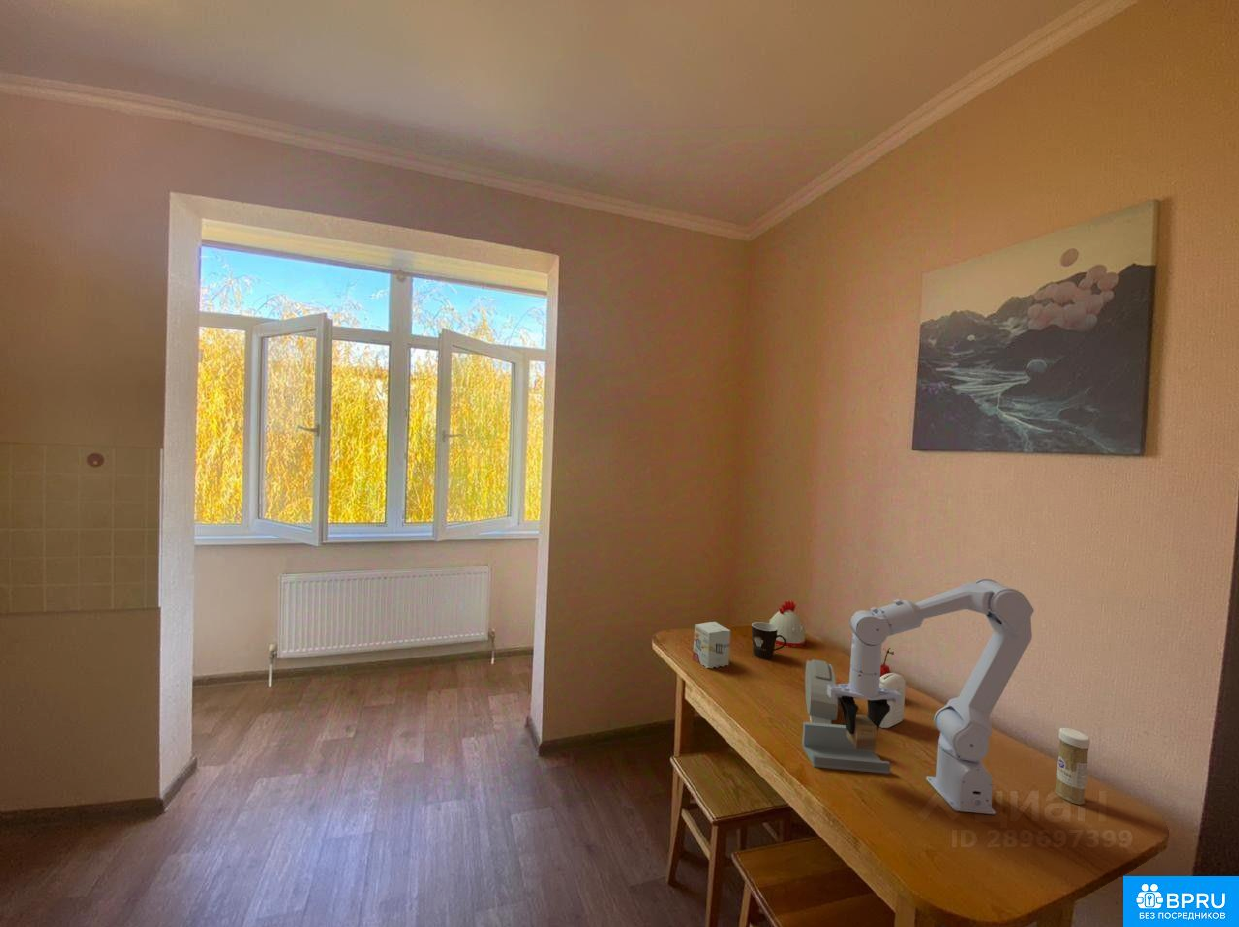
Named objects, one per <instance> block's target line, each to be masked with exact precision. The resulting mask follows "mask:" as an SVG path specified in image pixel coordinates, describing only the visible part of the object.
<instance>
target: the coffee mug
mask: <svg viewBox="0 0 1239 927" xmlns="http://www.w3.org/2000/svg"><path fill="white" fill-rule="evenodd" d="M751 631H752V650H753V653H752V654H753V656H755V657H756V658H758V659H762V660H771V659H773V658H774V653H775V651H779V650H781V649H783V648H785V647H784V646H785V645H786V639H785V638H784V637H783V636H782V635H777V631H778V628H777V627H776V626H775V625H772V624H769V622H762V621H759V622H758V621H757V622H753V623H752V624H751ZM777 637H782V638H783V639H784V642H785V643H784V645H783V646H779V647H777V648H775V646H776V644H775V642H776V639H777Z"/></svg>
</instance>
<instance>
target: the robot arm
mask: <svg viewBox="0 0 1239 927" xmlns="http://www.w3.org/2000/svg"><path fill="white" fill-rule="evenodd" d="M892 602H893V603H890V604H888V605H887V604H886V605H884V606H881V607H876V606H873V607H870V611H869V610H865V609H862V610H861V609H860V610H857V611H855V612H854V614H853V615H852V616H851V617H850V619H849V620H848V625H849V627H850V629H851V630H852V637H851V645H850V660H849V676H848V679H849V680H848V683H841V684H836V685H827V694H828V695H829V697H830V698H835V697H838V703H839V704H840V707H841V710H842V713H843V716H844V721H845V722H844V723H845V725H846V729H847V731H848V732H849V733H850V734H854V730H855V717H856V714H857V713H858V709H859V706H858V705H857V704H856V702H855V700H856V699H857V700H859V699H860V700H866V701H867V710H868V711H867V714H868V718H869V719H870V720H871V721H872V722H873V723H874V724H875V725H876V726H877V731H878V730H879V728H880V727H879V725H880V723H881V721H882V720H883V718H884V717H885V716H886V714H887V713H888V712H889V711H890V706H889V705H888V704H887V701H893V702H894V703H900V694H899V693H898V692H897V691H896V690H890V689H884V688H879V682H880V666H881V665H882V664H881V663H882V662H881V661H882V644H883V643H884V642H885V641H886V639H887V637H890V636H894V635H897V634H900V633H903V632H907V631H910V630H914V629H918V628H920V627H921V625H922V624H923V621H924V620H925V619H929V618H930V619H931V618H934V617H938V616H942V615H946V614H950V613H951V614H952V613H954V612H958V611H962V610H968V611H971V612H976V613H980V614H983V615H985V616H986V618H987V620H988V622H989V624H990V626H991V627H992V629H993V633H992V635H991V636H990V639H989V640H988V642H987V644H986V646H985V647H984V650H983V651H982V654H981V655H980V657H979V658H978V661H977V663H976V664H975V666H974V668H973V670H972V672H971V674H970V675H969V677H968V679H967V681H966V683H965V685H964V686H963V688H962V691H961V692H960V694H959V695H958V696H957V697H953V698H949V700H948V701H947V703H946V704H945V705H944V706H943V707H942V708H940V709H938V710H937V711H936V712H935V714H934V720H933V721H934V724H935V727H936V729H937V730H938V731H939V738H938V740H937V742H938V743H937V754H936V755H937V756H936V770H935V771H936V772H935V776H926V777H925V780H926V781H927V782H928V783H929V784H930V785H931V786H932V787H933V789H935V791H936V792H937V793H938V794H939V795H940V796H941V797H942V798H943V799H944V800H945V802H946V803H947V804H948V805H949V806H950V807H951V808H952V809H953V810H954V811H957V812H958V811H959V812H965V813H966V812H967V813H979V814H988V815H997V811H996V810H995V809H994V808H993V793H994V792H993V790H994V789H993V788H994V780H993V778H992V777H993V776H991V774H990V773H989V771H988V770H987V769H986V768H985V766H984V763H983V760H982V759H984V758H985V757H986V756H987V755H988V753H989V751H990V738H991V736H992V734H993V727H992V723H991V719H990V715H991V714H992V712H993V710H994V708H995V706H996V705H997V703H998V701H999V700H1000V698H1001V696H1002V694H1003V692H1004V690H1005V688H1006V687H1007V685H1008V683H1009V680H1010V679H1011V677H1012V675H1013V673H1014V672H1015V670H1016V668H1017V666H1018V665H1019V662H1020V661H1021V659H1022V657H1023V655H1024V654H1025V652H1026V650H1027V648H1028V646H1029V645H1030V643H1031V640H1032V638H1033V637H1032V635H1033V633H1032V622H1031V617H1032V615H1033V613H1034V611H1035V609H1034V608H1033V606H1032V604H1031V603H1030V601H1029V600H1028V598H1027V597H1026V596H1025V594H1024V593H1022V592H1021V591H1019V590H1018V589H1013V588H1011V587H1008V586H1007V585H1003V584H1001V583H999V582H997V581H995V580H993V579H991V578H981V579H977V580H976V581H968V582H965V583H964V584H962V585H960V586H957V587H956V588H953V589H949V590H947V591H945V592H942V593H938V594H937V595H934V596H931V597H928V598H925V599H923V600H920V601H917V602H912V601H910V600H908V599H903V600H901V599H900V598H896V599H893V600H892ZM854 699H855V700H854Z"/></svg>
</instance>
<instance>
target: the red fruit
mask: <svg viewBox="0 0 1239 927" xmlns="http://www.w3.org/2000/svg"><path fill="white" fill-rule="evenodd" d="M882 650H884V651H885V656H884V657H883V663H882V664H881V666H880V677H881V676H883V675H885V674H889V673H892V672H891V670H890V666H888V665H887V664H886V661H887V657H888V654H889V655H891V656H892V655H893V656H894V653H895V652H894V651H890V650H891V647H889V648H888V649H886V648H883V649H882Z"/></svg>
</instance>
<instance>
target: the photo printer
mask: <svg viewBox="0 0 1239 927" xmlns="http://www.w3.org/2000/svg"><path fill="white" fill-rule="evenodd" d="M906 684H907V683H906V680H905V679H904V677H903V676H902V674H901V675H900V674H897V673H896V672H891V673H889V674H885V675H883V676H881V677H880V682H879V688H884V689H890V690H896V691H897V692H898V693H899V694H900V703H894V702H893V701H887V704H888V705H889V706H890V711H889V712H888V713H887V714H886V716H885V717H884V718H883V720H882V721H881V723H880V725H879V728H881V729H882V728H883V729H888V728H891V727H893V726H894V725H897V724H899V723H901V722H903V720H904V717H905V701H906V688H907V685H906Z"/></svg>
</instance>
